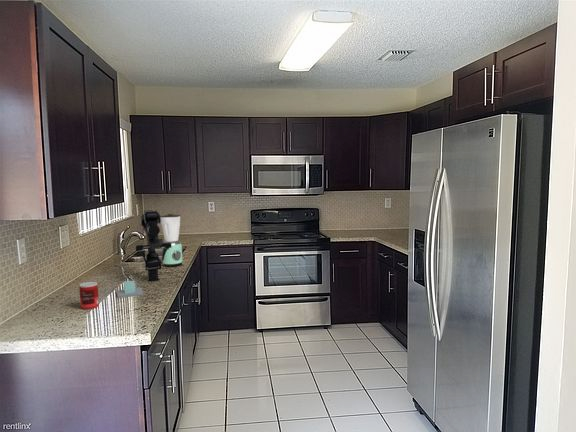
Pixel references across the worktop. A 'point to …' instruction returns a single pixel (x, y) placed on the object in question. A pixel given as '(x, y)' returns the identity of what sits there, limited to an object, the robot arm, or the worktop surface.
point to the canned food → (89, 295)
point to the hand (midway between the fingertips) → (154, 261)
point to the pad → (122, 293)
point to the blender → (172, 239)
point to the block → (129, 287)
